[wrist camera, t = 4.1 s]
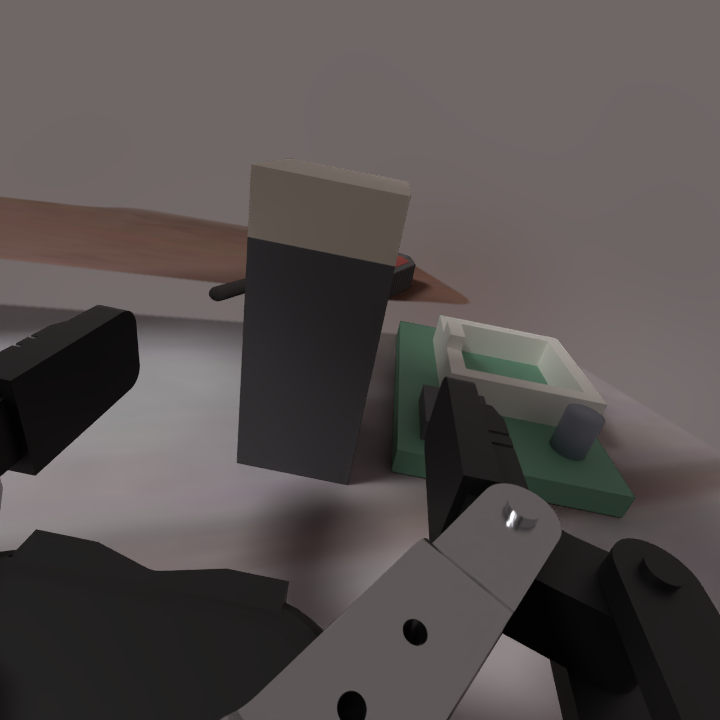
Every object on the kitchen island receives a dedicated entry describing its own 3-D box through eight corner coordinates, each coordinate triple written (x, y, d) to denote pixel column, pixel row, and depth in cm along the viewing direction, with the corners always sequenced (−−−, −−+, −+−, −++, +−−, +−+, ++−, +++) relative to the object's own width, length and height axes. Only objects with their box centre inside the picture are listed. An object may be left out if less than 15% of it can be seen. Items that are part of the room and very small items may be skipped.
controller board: (391, 471, 18) (412, 397, 16) (396, 336, 30) (408, 285, 28) (621, 517, 18) (668, 449, 16) (533, 363, 30) (553, 315, 28)
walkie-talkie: (344, 263, 46) (199, 308, 30) (350, 221, 44) (199, 246, 28) (417, 287, 43) (301, 353, 26) (428, 244, 41) (309, 287, 24)
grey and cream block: (236, 462, 17) (251, 164, 12) (268, 400, 21) (290, 157, 16) (347, 484, 17) (410, 196, 12) (358, 418, 21) (409, 181, 16)
